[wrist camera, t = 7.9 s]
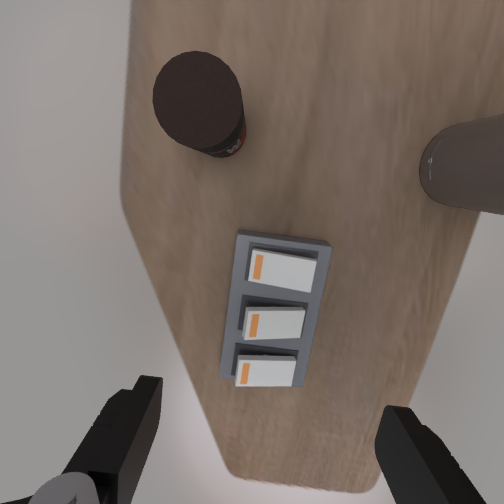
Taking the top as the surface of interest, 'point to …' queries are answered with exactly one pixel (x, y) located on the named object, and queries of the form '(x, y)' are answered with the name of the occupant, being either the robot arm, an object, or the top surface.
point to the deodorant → (200, 104)
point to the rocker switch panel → (272, 301)
